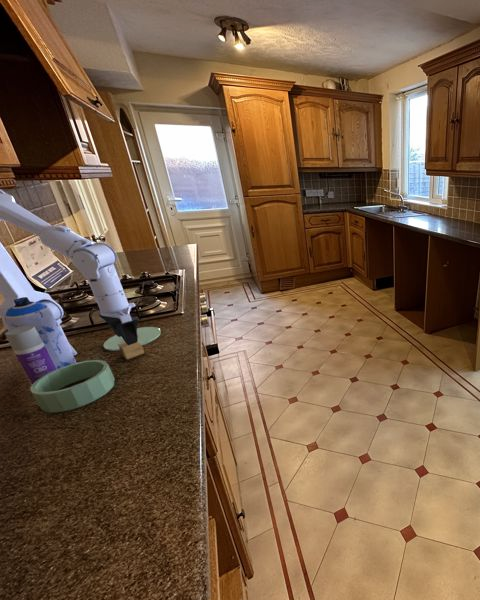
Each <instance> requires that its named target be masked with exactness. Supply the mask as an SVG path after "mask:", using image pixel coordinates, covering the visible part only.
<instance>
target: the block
mask: <svg viewBox="0 0 480 600" xmlns="http://www.w3.org/2000/svg"><path fill="white" fill-rule="evenodd" d="M118 346H119V349H120V351H119V352H120V353H121V356H122V357H124V359H125V360H130V359H132V358H135V357H138V356H140V355H144V354H145V351H144V350H145V349H144V348H143V345H141V342H139V341H138V342H137V343H134V344H131V345H127V344H126V342H122V343H119V344H118Z"/></svg>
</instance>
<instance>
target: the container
mask: <svg viewBox="0 0 480 600" xmlns="http://www.w3.org/2000/svg"><path fill="white" fill-rule="evenodd" d="M4 335H5V338H6V339H7V342H8V343H9V346H10V347H11V349H12V351H13V353H14V355H15V356H16V357H15V358H16V359H17V360H18V362H19V363H20V366H21V367H22V369H23V370H24V373H25V374H26V376H27V378H28V379H29V381H30V383H31V386H32V385H33V383H34V382H35V381H37V380H38V379H40V378H41V377H43V376H44V375H46V374H48V373H50V372H52V371H54V370H56V369H57V368H56V366H55V364H54V362H53V360H52V358H51V356H50V354H49V352H48V350H47V348H46V346H45V345H44V343H43V341H42V339H41V338H40V336H39V334H38V332H37V331H36V329H35V327H34V326H23V327H18V328H15V329H12V330H9V331H8V330H7V331H5V332H4Z"/></svg>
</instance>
